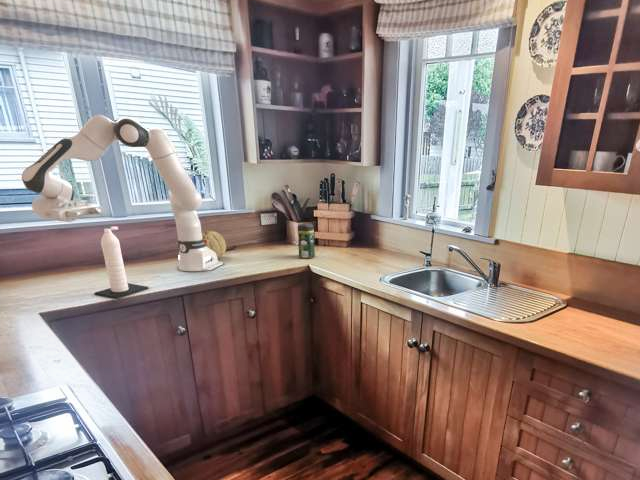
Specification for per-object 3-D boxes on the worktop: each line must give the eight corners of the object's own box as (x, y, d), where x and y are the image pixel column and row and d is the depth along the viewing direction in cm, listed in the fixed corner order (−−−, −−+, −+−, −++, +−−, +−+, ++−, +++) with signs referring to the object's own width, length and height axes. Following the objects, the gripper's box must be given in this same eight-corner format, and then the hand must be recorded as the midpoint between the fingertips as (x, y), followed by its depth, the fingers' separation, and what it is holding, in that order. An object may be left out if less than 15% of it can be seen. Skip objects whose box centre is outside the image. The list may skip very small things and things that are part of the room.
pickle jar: (303, 254, 266) (302, 221, 258) (316, 255, 264) (315, 222, 256) (296, 258, 258) (295, 223, 250) (309, 259, 256) (308, 225, 248)
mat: (127, 284, 203) (127, 283, 202) (148, 288, 199) (148, 286, 198) (95, 294, 189) (94, 292, 189) (116, 298, 185) (116, 296, 185)
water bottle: (122, 293, 189) (109, 230, 179) (107, 291, 190) (94, 229, 180) (135, 287, 197) (123, 226, 187) (121, 286, 198) (108, 226, 187)
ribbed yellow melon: (231, 256, 256) (228, 229, 250) (221, 262, 243) (218, 233, 237) (204, 255, 257) (201, 227, 251) (193, 261, 243) (190, 232, 237)
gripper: (38, 205, 183) (63, 208, 179) (85, 200, 200) (109, 202, 196) (43, 222, 186) (67, 224, 181) (88, 215, 203) (112, 218, 199)
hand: (89, 213), depth 189 cm, fingers open, 8 cm apart
